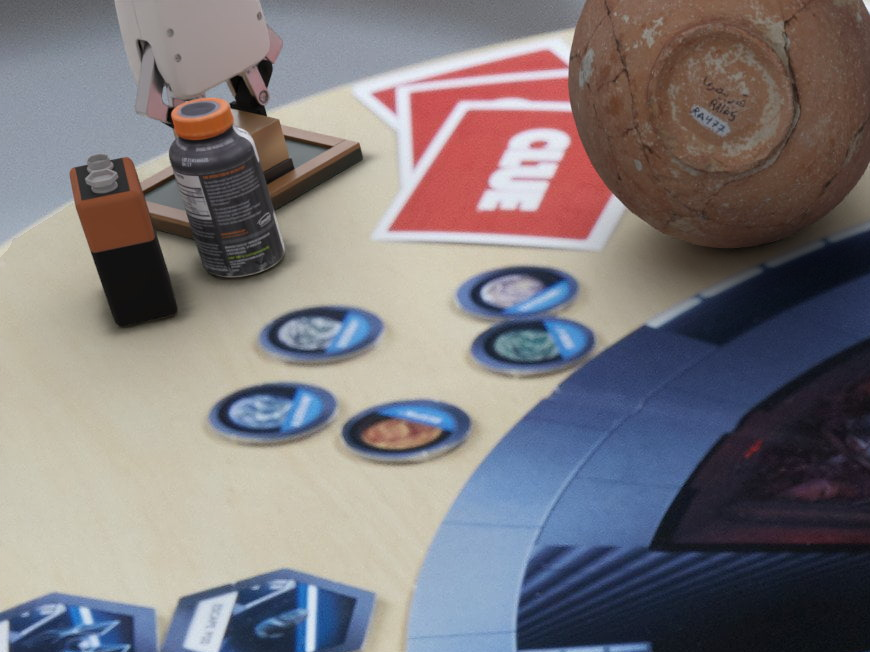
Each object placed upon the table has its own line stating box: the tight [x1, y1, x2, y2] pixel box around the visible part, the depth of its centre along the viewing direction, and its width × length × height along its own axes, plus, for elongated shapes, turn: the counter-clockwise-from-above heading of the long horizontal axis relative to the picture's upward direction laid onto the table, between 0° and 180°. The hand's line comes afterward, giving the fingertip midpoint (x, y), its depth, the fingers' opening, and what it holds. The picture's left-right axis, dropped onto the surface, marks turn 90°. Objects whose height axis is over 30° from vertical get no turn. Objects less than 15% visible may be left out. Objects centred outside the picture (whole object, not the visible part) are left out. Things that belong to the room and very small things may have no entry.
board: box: [140, 124, 364, 240], centre depth 182 cm, size 16×11×1 cm
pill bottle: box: [168, 97, 286, 278], centre depth 169 cm, size 6×6×11 cm
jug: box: [567, 0, 870, 249], centre depth 168 cm, size 22×22×30 cm
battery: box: [69, 153, 178, 328], centre depth 165 cm, size 4×7×10 cm, turn 20°
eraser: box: [172, 108, 295, 185], centre depth 180 cm, size 4×8×4 cm, turn 59°
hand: (237, 167), depth 181 cm, fingers closed on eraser, 4 cm apart
